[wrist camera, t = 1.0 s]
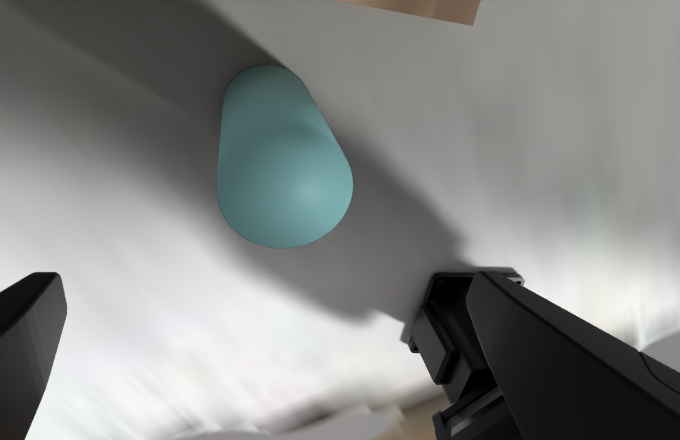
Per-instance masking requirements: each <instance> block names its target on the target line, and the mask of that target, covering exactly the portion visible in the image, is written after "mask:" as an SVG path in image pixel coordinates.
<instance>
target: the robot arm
mask: <svg viewBox="0 0 680 440" xmlns="http://www.w3.org/2000/svg"><path fill="white" fill-rule="evenodd" d="M440 280H441V281H440ZM438 281H440V282H438ZM524 282H525V281H524V279H523V278H522V277H521V276H520V275H519V274H500V273H498V272H496V271H493V270H480V271H478V272H477V273H437V274H435V275H433V276H432V278H431V280H430V283H429V285H428V288H427V291H426V294H425V297H424V300H423V303H422V304H421V306H420V308H419V311H418V314H417V317H416V320H415V323H414V326H413V328H412V331H411V337H410V340H409V343H408V346H409V349H410V351H411V352H412V353H420V354H421V356H422V358H423V361H424V363H425V365H426V367H427V369H428V371H429V373H430V375H431V378H432V380H433V381H434V383H435V384H436V385H442V387H443V389H444V391H445V393H446V395H447V397H448V399H449V401H450V403H451V405H450V406H449V407H447V408H446V409H444V410H443V411H438V412H437V413H435V414H434V415H433V416H432V418H433V422H434V426H435V434H436V438H437V440H680V373H679V372H677V371H676V370H674V369H671V368H670V367H668V366H666V365H664V364H662V363H661V362H659V361H657V360H655V359H653V358H652V357H650V356H648V355H646V354H644V353H643V352H638V350H637V349H635V348H633V347H632V346H630V345H628V344H626V343H624V342H623V341H621V340H619V339H617V338H615V337H614V336H612V335H610V334H608V333H606V332H605V331H603V330H601V329H599V328H597V327H595V326H594V325H592V324H590V323H588V322H586V321H585V320H583V319H581V318H579V317H577V316H576V315H574V314H572V313H570V312H568V311H567V310H565V309H563V308H561V307H559V306H557V305H556V304H554V303H552V302H550V301H548V300H547V299H545V298H543V297H541V296H539V295H538V294H536V293H534V292H532V291H530V290H529V289H527V288H525V287H523V285H524ZM66 315H67V303H66V298H65V293H64V288H63V284H62V279H61V277H60V275H59V274H58V273H56V272H34V273H32V274H30V275H28V276H26V277H25V278H23V279H21V280H20V281H18V282H16V283H15V284H13V285H11V286H10V287H8V288H6V289H5V290H3V291H1V292H0V440H25V438H26V435H27V433H28V430H29V428H30V426H31V423H32V421H33V419H34V416H35V414H36V411H37V409H38V407H39V404H40V402H41V399H42V397H43V394H44V392H45V389H46V386H47V383H48V380H49V376H50V373H51V369H52V366H53V362H54V359H55V355H56V352H57V348H58V344H59V341H60V337H61V334H62V330H63V327H64V323H65V320H66Z"/></svg>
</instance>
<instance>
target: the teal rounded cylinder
mask: <svg viewBox="0 0 680 440" xmlns="http://www.w3.org/2000/svg"><path fill="white" fill-rule="evenodd" d="M216 191H217V200H218V205H219V208H220V210H221V213H222V215H223V216H224V218H225V220H226V221H227V223H228V224H229V225H230V226H231V227H232V228H233V229H234V230H235V231H236V232H237V233H238V234H239V235H241V236H242V237H244V238H245V239H247V240H249V241H251V242H253V243H256V244H259V245H262V246H266V247H271V248H292V247H298V246H302V245H305V244H308V243H311V242H313V241H315V240H317V239H319V238H321V237H323V236H324V235H326V234H327V233H328V232H329V231H331V230H332V229H333V228H334V227H335V226H336V225H337V224H338V223H339V222H340V220H341V219H342V218H343V216H344V214H345V213H346V211H347V209H348V206H349V204H350V201H351V197H352V192H353V178H352V172H351V169H350V165H349V163H348V161H347V159H346V157H345V155H344V154H343V152H342V150H341V148H340V146H339V145H338V143H337V141H336V139H335V137H334V136H333V134H332V132H331V130H330V129H329V127H328V125H327V123H326V121H325V120H324V118H323V116H322V114H321V112H320V111H319V109H318V107H317V105H316V103H315V102H314V100H313V98H312V96H311V95H310V93H309V91H308V89H307V87H306V86H305V84H304V83H303V82H302V81H301V79H300V78H299V77H297V76H296V75H295V74H294V73H292V72H291V71H289V70H287V69H285V68H283V67H280V66H276V65H267V64H266V65H257V66H253V67H250V68H248V69H246V70H244V71H242V72H241V73H239V74H238V75H237V76H236V77H235V78H234V79H233V80H232V81H231V83H230V84H229V86H228V87H227V89H226V92H225V94H224V98H223V105H222V118H221V131H220V145H219V159H218V172H217V186H216Z"/></svg>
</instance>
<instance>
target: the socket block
mask: <svg viewBox="0 0 680 440" xmlns="http://www.w3.org/2000/svg"><path fill="white" fill-rule="evenodd" d="M338 1H343V2H348V3H354V4H359V5H364V6H370V7H375V8H380V9H385V10H391V11H396V12H401V13H407V14H412V15H417V16H423V17H428V18H433V19H439V20H444V21H449V22H455V23H460V24H465V25H471V26H473V23H474V20H475V16H476V13H477V10H478V6H479V3H480V0H338Z"/></svg>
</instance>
